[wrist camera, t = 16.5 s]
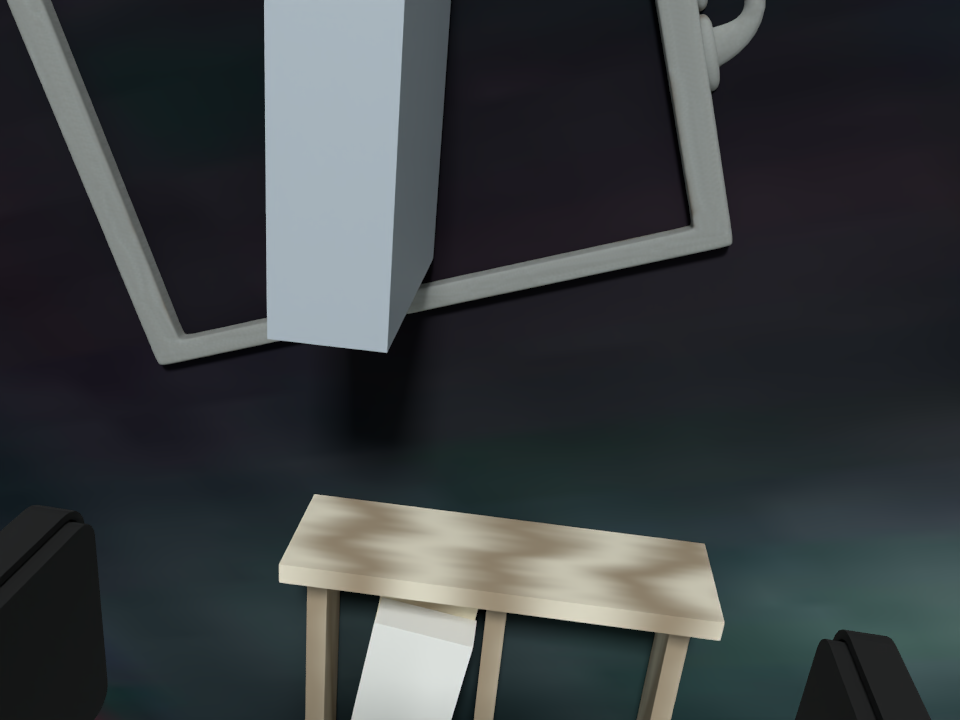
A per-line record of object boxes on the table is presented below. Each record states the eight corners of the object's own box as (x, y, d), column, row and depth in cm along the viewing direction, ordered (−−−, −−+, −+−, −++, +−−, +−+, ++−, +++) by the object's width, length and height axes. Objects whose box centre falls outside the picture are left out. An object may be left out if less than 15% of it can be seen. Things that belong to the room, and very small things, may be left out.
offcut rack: (704, 543, 44) (724, 622, 38) (637, 835, 52) (646, 935, 47) (314, 494, 45) (279, 564, 39) (309, 788, 53) (279, 880, 48)
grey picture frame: (-21, -59, 35) (734, -300, 30) (3, -57, 37) (726, -287, 31) (157, 368, 42) (798, 233, 37) (171, 355, 44) (789, 223, 38)
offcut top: (476, 620, 45) (473, 647, 43) (427, 784, 49) (422, 815, 48) (382, 596, 45) (374, 622, 43) (341, 763, 49) (333, 792, 47)
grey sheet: (457, -96, 33) (411, -134, 23) (433, 258, 39) (387, 352, 29) (353, -105, 33) (262, -148, 23) (344, 248, 39) (267, 339, 29)
